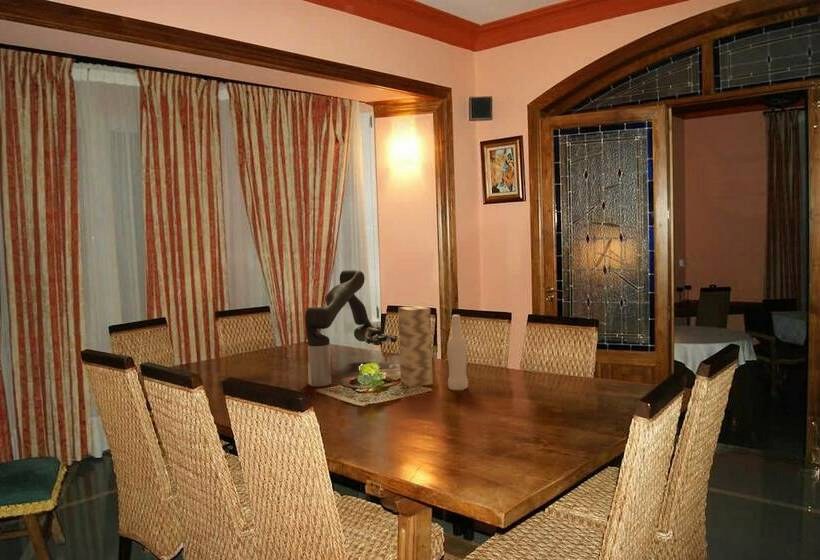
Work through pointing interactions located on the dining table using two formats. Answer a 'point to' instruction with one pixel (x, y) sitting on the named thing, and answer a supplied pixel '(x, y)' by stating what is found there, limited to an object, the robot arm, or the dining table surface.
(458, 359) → the bottle
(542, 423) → the dining table surface
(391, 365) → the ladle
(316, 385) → the robot arm
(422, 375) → the brown wavy-grained wooden cylinder
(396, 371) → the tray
